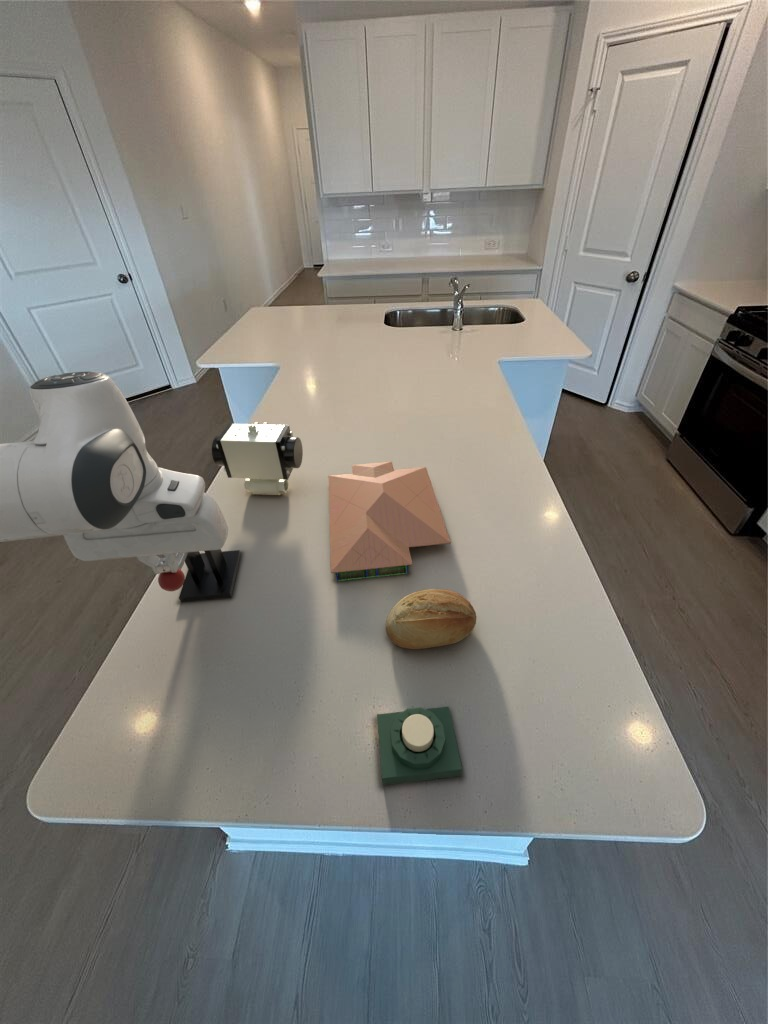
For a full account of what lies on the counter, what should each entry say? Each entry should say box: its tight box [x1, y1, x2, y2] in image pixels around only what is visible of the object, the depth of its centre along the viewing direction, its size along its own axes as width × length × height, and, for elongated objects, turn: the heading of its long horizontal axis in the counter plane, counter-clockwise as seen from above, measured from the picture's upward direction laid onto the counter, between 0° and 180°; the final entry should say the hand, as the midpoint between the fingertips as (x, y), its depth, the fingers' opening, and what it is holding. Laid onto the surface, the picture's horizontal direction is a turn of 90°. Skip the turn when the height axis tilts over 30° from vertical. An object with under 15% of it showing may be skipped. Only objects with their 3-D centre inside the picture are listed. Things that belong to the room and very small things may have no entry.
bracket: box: [178, 548, 242, 603], centre depth 79 cm, size 11×9×14 cm
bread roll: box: [384, 588, 477, 650], centre depth 70 cm, size 10×15×8 cm, turn 100°
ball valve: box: [211, 421, 304, 496], centre depth 98 cm, size 18×8×18 cm, turn 84°
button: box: [402, 714, 434, 752], centre depth 56 cm, size 4×4×2 cm
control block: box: [376, 706, 463, 786], centre depth 57 cm, size 10×8×4 cm
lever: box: [157, 552, 188, 592], centre depth 71 cm, size 15×4×4 cm, turn 5°
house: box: [328, 461, 451, 582], centre depth 92 cm, size 23×33×8 cm
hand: (167, 570), depth 65 cm, fingers closed, pressing on lever
